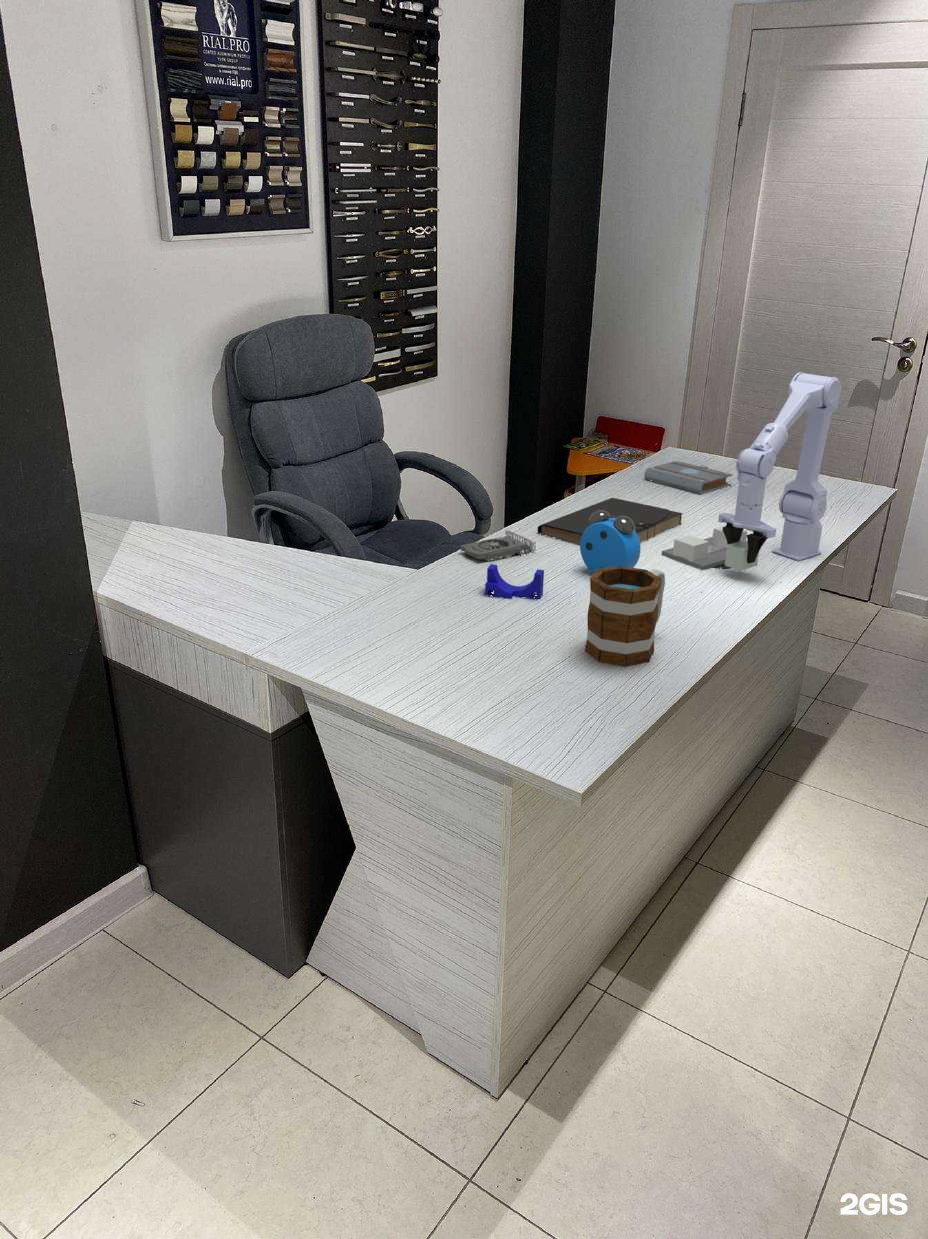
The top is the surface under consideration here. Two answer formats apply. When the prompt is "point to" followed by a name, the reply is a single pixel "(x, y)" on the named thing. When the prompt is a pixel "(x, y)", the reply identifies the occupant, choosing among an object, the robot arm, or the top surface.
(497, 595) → the blue cradle bracket
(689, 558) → the mounted modules
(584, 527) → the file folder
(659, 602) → the mug
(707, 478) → the book
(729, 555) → the block
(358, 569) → the top surface
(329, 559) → the top surface
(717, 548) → the rail board
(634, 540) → the alarm clock
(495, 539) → the graphics card
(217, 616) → the top surface
